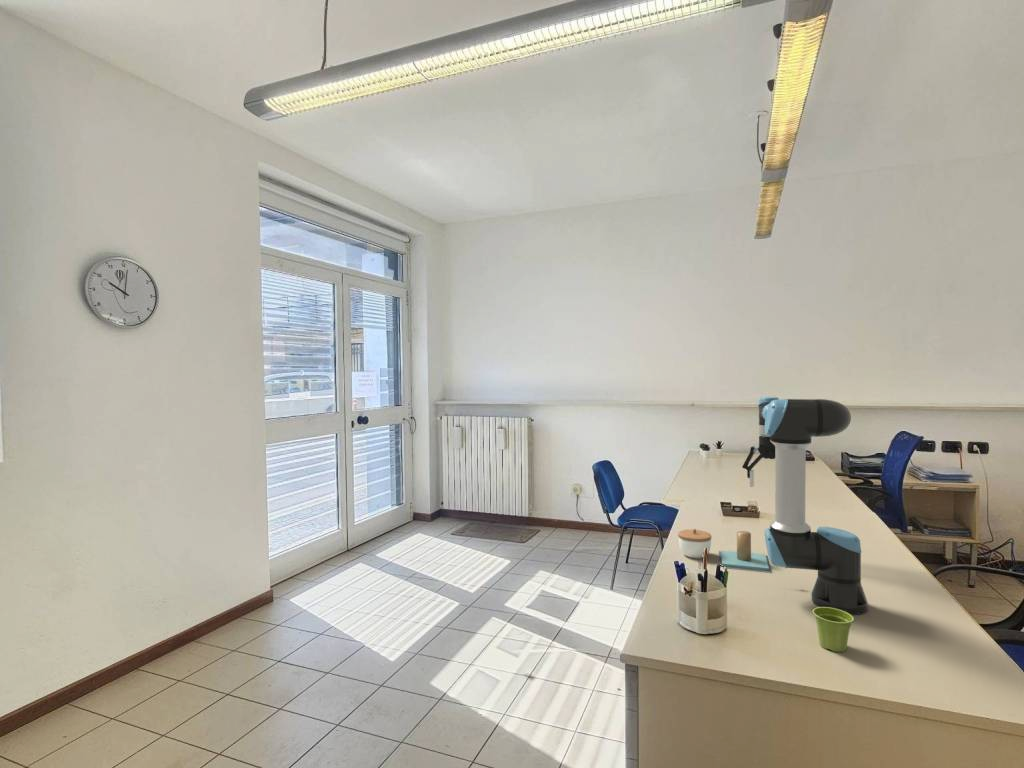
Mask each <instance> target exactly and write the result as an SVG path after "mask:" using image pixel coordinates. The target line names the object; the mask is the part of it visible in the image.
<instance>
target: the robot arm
mask: <svg viewBox="0 0 1024 768" xmlns="http://www.w3.org/2000/svg"><path fill="white" fill-rule="evenodd" d="M757 407H758V434H759V436H758V446H755V445H753V446H751V447H750V450H749V453H748V455H747V457H746V459H745V461H744V462H743V465H742V467H741V468H743V469H745V470H746V473H747V474H746V476H747V479H749V487H751V488H753V487H754V486H755V477H754V475H755V474H754V470H753V468H754V467H755V466H756V465H757V464H758V463H759V462H760V461H761V460H762V459H763V458H764V459H770V460H775V464H774V465H775V470H774V471H775V473H774V474H775V479H774V481H775V483H774V484H775V485H774V487H775V492H774V500H775V501H774V503H775V504H774V506H775V507H774V509H775V510H774V512H775V513H774V514H775V515H774V517H775V518H774V519H773V520H772V521H770V523H769V528H765V529H764V541H765V546H766V550H767V556H768V559H769V563H771V564H770V565H773V566H774V567H776V568H777V567H780V568H784V569H795V570H796V569H798V570H808V571H809V570H813V571H817V578H816V580H815V583H814V585H813V588H812V591H811V601H812V603H813V604H814V605H815V606H817V607H830V608H835V609H839V610H842V611H845V612H847V613H849V614H850V615H852V616H853V615H855V616H856V615H862V614H866V613H867V612H868V610H869V607H868V606H869V604H868V603H869V602H868V599H867V596H866V594H865V591H864V588H863V585H862V581H861V580H862V577H861V575H862V565H861V564H862V558H861V557H862V547H861V545H862V544H861V541H860V538H859V537H858V536H857V535H856V534H855V533H852V532H850V531H847V530H845V529H841V528H836V527H832V526H818V527H817V529H816V531H811V530H812V528H811V526H810V525H809V524H808V523H807V522H806V473H807V472H806V465H807V463H806V462H807V461H806V455H807V453H806V451H807V450H806V449H807V447H809V445H811V444H812V437H813V438H815V437H820V438H821V437H831V436H835V435H838V434H840V433H842V432H844V431H846V430H847V428H848V427H849V426H850V424H851V421H852V415H851V411H850V410H849V409H848V407H846V405H844V404H842V403H840V402H838V401H835V400H832V399H823V398H822V399H821V398H820V399H819V398H816V399H815V398H814V399H811V398H807V399H806V398H803V399H802V398H801V399H800V398H784V399H783V398H782V399H779V397H777V396H762V397H759V398H758V404H757ZM757 451H758V453H760V454H759V455H758V456H757V457H756V458H755V459H754V460H753V461H752V462H751V460H752V459H753V456H754V454H755V453H756V452H757ZM750 462H751V463H750Z"/></svg>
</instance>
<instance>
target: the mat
mask: <svg viewBox="0 0 1024 768" xmlns="http://www.w3.org/2000/svg"><path fill="white" fill-rule="evenodd" d="M765 556H766V559H767V563H768V567H769V571H764V570H755V569H745V568H735V567H726V568H727V569H726V568H725V569H726V570H728V569H729V570H735V571H737V570H738V571H747V572H756V573H766V574H767V573H768V574H773V570H772V567H771V564H770V563H771V562H770V560H769V556H768V554H767V555H766V554H765ZM719 562H720V563H719ZM719 564H721V565H722V552H721V550H718V565H719Z"/></svg>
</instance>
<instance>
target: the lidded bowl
mask: <svg viewBox="0 0 1024 768" xmlns="http://www.w3.org/2000/svg"><path fill="white" fill-rule="evenodd" d="M677 536H678V547H679V549H680V551H681V552H682V553H683V555H685V556H686V557H688V558H691V559H703V558H702V554H703V549H704V548H707V549H708V554H709V553H710V551H711V548H712V547H711V546H712V534H711V533H709V532H707V531H705V530H699V529H697V528H692V529H682V530H679V532H678V533H677Z"/></svg>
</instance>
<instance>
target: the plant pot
mask: <svg viewBox="0 0 1024 768" xmlns="http://www.w3.org/2000/svg"><path fill="white" fill-rule="evenodd" d="M812 614H813V615H814V619H815V620H816V621H815V622H816V627H817V635H818V642H819V645H820V646H821V647H822V648H823V649H826V650H831V651H832V652H836V653H842V652H845V651H846V649H847V647H848V640H849V634H850V629H851V627H852V623H853V622H854V620H855V619H854V616H853V615H850V614H849V613H847V612H845V611H842V610H839V609H835V608H830V607H818V606H817V607H815V608H813V610H812Z"/></svg>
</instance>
